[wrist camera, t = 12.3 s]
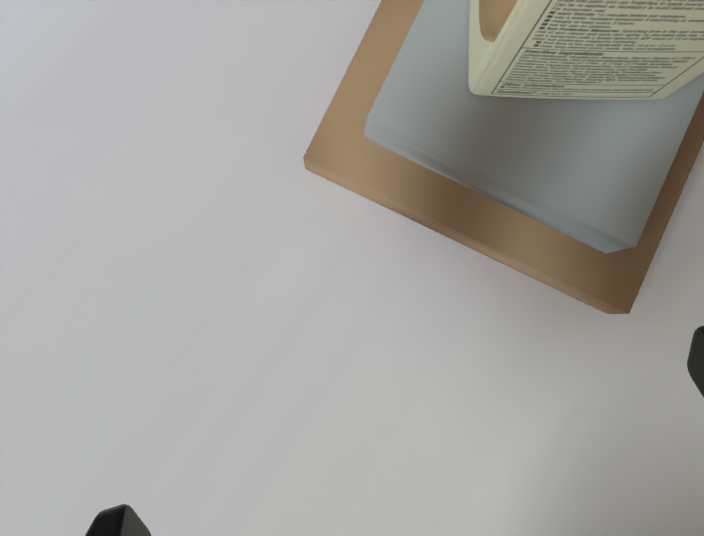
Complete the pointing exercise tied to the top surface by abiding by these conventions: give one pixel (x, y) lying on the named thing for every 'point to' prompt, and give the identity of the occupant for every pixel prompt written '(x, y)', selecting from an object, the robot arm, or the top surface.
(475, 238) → the brown picture frame
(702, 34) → the skincare box
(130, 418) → the top surface
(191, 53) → the top surface
